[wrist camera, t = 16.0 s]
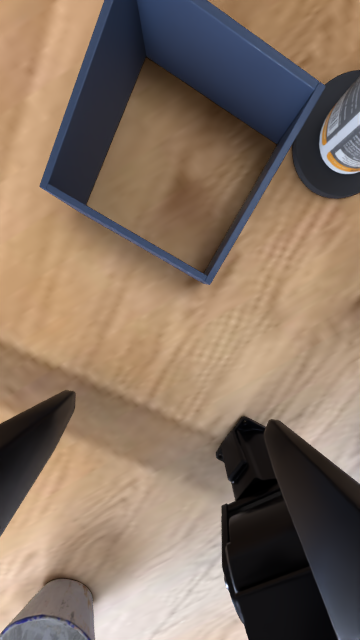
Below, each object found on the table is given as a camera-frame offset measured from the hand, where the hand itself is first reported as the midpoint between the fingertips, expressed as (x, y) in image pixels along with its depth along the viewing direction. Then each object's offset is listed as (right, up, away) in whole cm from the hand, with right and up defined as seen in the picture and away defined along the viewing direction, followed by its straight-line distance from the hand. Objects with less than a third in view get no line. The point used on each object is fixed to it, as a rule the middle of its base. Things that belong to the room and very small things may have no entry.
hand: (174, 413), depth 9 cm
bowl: (-18, -39, +21) cm, 48 cm away
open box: (0, +17, +9) cm, 19 cm away
